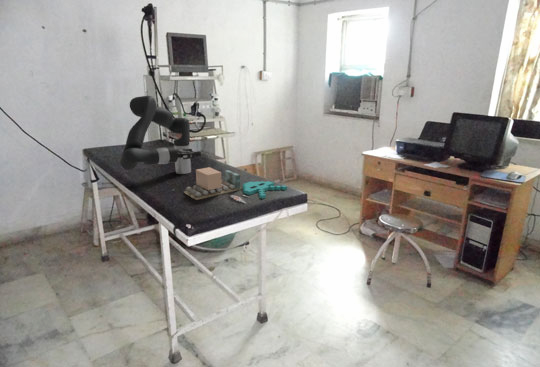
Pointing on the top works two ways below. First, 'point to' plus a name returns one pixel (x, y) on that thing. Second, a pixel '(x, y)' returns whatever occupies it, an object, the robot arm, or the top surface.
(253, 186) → the alien figure
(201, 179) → the tan cardboard box
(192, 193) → the roller track
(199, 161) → the top surface
